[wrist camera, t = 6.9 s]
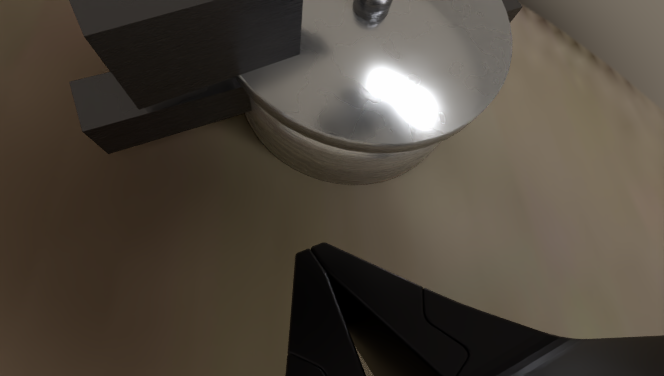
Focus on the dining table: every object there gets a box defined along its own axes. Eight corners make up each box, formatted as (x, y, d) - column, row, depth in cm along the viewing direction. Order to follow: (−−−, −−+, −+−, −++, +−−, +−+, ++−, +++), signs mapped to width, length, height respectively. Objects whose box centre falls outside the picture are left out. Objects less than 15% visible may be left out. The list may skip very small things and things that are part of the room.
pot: (522, 127, 23) (582, 81, 18) (160, 270, 17) (113, 258, 12) (425, -20, 27) (455, -89, 22) (96, 56, 20) (41, -17, 16)
